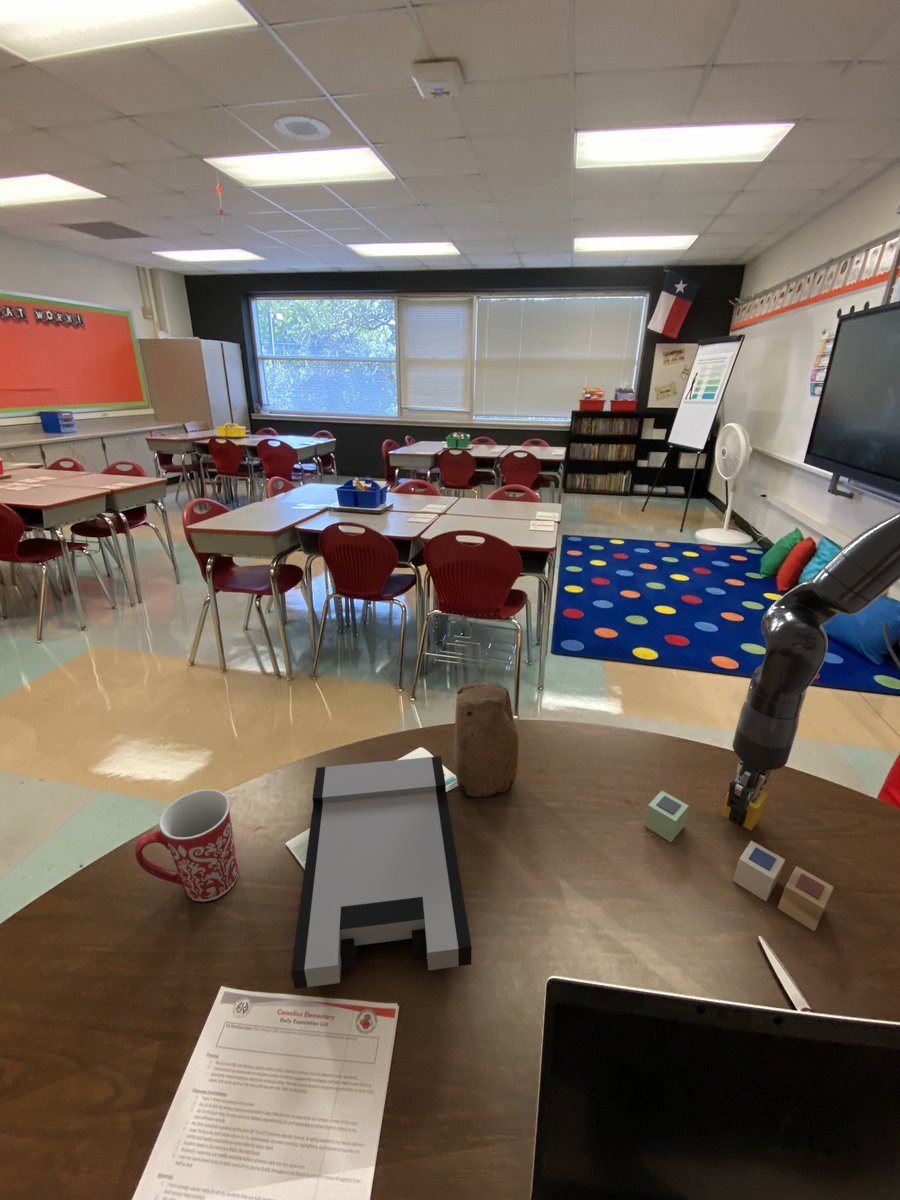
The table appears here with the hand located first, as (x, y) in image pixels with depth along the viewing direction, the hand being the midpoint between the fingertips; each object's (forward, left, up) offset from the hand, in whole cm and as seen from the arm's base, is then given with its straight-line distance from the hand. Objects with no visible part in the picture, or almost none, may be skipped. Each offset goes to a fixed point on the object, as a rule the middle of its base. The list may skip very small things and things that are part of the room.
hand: (742, 813), depth 89 cm
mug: (+69, -50, -2) cm, 85 cm away
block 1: (+24, -35, -2) cm, 43 cm away
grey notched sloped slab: (+49, -32, -2) cm, 59 cm away
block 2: (+10, -8, -2) cm, 13 cm away
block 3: (+10, +6, -2) cm, 12 cm away
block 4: (+10, +12, -2) cm, 16 cm away
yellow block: (0, 0, 0) cm, 0 cm away
